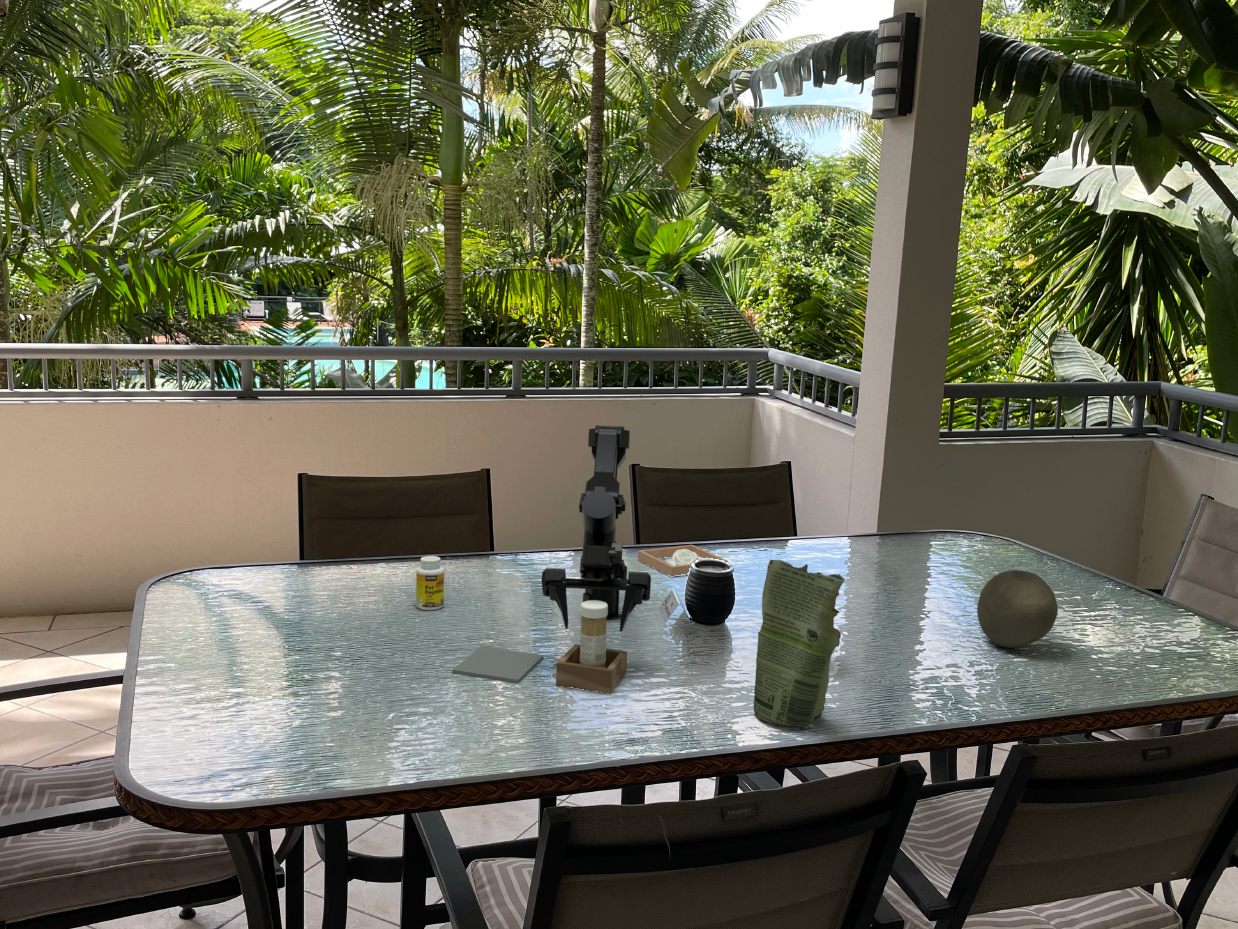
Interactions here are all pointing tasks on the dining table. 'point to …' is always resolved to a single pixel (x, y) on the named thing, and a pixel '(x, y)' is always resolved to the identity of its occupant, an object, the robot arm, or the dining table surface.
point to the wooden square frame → (652, 556)
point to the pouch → (795, 644)
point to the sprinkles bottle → (593, 633)
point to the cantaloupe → (1016, 608)
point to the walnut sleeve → (591, 671)
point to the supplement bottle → (430, 584)
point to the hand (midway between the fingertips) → (593, 629)
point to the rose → (683, 557)
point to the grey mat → (498, 664)
